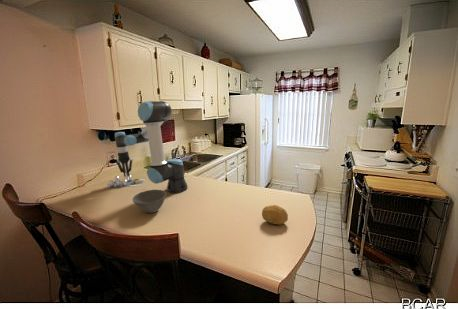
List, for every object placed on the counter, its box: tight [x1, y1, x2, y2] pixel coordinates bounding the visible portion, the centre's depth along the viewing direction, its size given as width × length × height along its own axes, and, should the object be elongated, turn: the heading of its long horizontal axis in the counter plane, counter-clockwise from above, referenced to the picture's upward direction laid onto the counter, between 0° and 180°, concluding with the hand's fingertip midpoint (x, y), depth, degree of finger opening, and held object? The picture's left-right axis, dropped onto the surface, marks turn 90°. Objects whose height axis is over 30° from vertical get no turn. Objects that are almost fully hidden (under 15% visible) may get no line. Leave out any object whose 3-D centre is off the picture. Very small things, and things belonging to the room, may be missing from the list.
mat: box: [105, 179, 146, 189], centre depth 177 cm, size 27×15×1 cm, turn 96°
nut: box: [132, 178, 141, 184], centre depth 177 cm, size 4×5×3 cm
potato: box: [261, 204, 289, 226], centre depth 112 cm, size 10×13×9 cm
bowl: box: [132, 189, 167, 214], centre depth 130 cm, size 19×19×10 cm
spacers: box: [108, 174, 133, 189], centre depth 176 cm, size 13×14×5 cm
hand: (127, 180), depth 176 cm, fingers closed
